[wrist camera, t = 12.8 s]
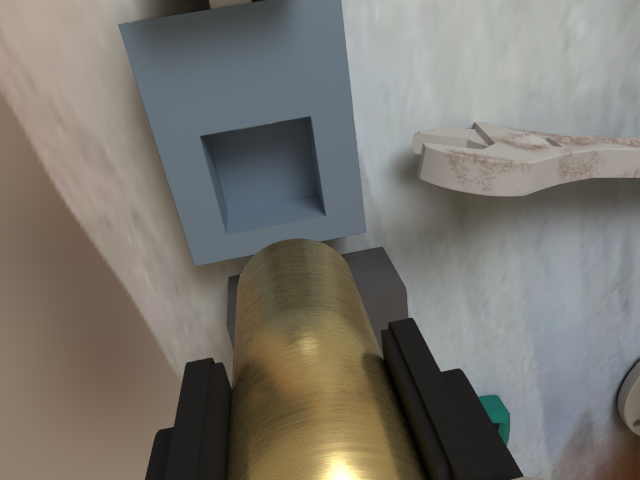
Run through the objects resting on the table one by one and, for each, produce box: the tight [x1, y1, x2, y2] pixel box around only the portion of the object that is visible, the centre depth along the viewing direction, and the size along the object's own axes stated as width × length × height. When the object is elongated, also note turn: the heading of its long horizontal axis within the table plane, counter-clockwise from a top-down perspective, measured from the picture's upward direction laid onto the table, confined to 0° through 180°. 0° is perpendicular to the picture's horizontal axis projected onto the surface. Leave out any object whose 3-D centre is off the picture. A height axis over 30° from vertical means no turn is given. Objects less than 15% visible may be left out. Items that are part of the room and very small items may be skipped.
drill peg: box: [227, 239, 428, 480], centre depth 10 cm, size 4×4×10 cm
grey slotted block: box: [227, 247, 408, 356], centre depth 30 cm, size 10×10×5 cm
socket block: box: [118, 0, 366, 266], centre depth 24 cm, size 12×9×4 cm
